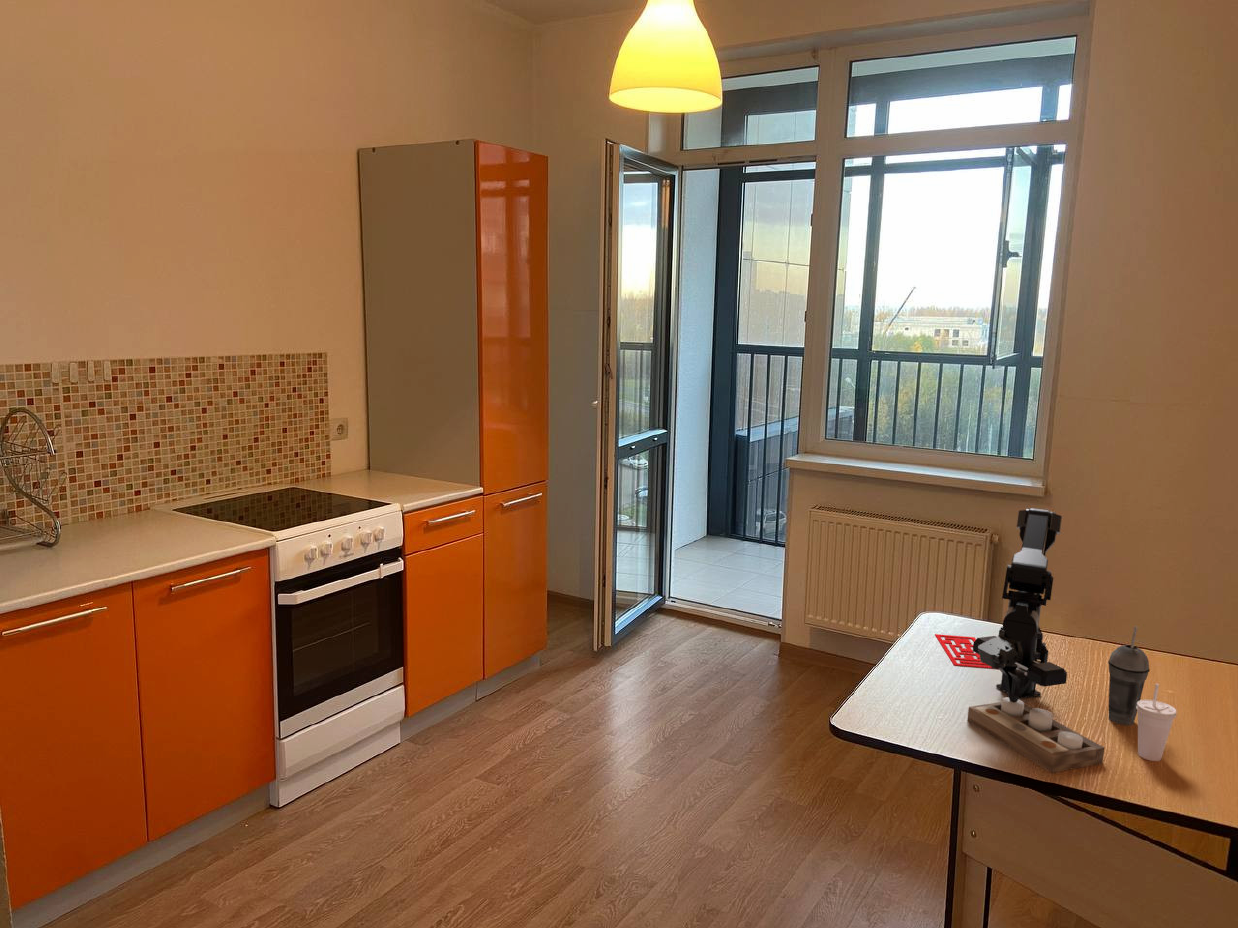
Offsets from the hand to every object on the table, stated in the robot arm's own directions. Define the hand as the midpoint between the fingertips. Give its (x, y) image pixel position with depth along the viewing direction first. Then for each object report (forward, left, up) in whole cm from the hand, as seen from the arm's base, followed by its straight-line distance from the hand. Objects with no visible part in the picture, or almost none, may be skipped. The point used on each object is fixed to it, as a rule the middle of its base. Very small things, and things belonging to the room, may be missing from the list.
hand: (1013, 701), depth 178 cm
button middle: (0, +7, -2) cm, 7 cm away
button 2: (0, +14, -4) cm, 14 cm away
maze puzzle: (-23, -32, -5) cm, 40 cm away
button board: (+2, +7, -5) cm, 9 cm away
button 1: (0, 0, -3) cm, 3 cm away
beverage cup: (-23, +5, -5) cm, 25 cm away
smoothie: (-15, +18, -5) cm, 24 cm away
